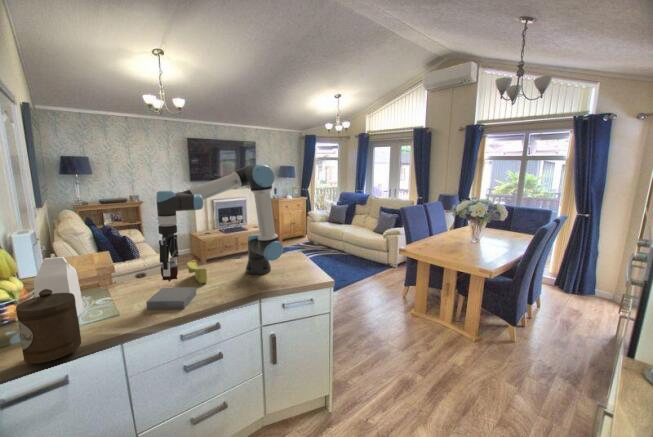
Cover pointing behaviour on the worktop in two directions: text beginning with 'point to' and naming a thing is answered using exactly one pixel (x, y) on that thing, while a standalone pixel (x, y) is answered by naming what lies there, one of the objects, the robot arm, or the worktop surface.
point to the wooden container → (48, 326)
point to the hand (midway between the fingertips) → (170, 273)
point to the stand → (171, 298)
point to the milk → (58, 279)
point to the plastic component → (197, 272)
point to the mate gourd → (171, 270)
